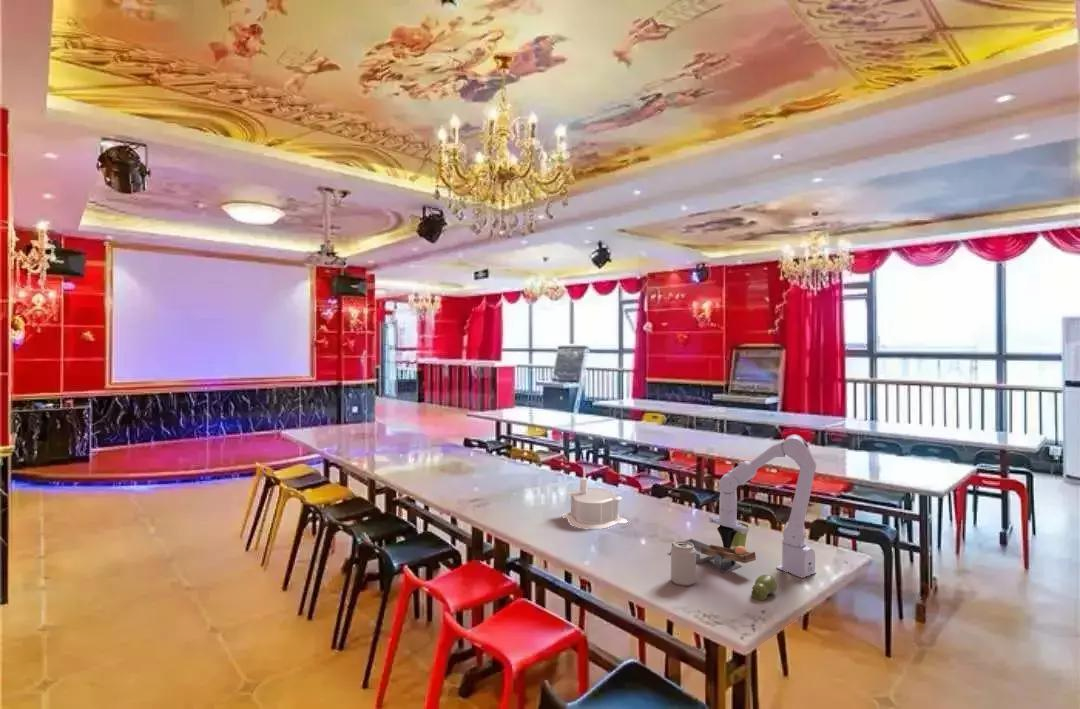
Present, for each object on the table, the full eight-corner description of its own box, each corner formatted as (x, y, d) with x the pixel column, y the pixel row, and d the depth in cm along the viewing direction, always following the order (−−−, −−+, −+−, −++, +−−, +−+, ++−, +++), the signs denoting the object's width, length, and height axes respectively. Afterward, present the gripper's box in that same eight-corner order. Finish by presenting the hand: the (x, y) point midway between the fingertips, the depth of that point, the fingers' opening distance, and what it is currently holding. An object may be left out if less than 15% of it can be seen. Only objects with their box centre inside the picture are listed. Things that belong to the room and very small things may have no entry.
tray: (718, 557, 194) (718, 548, 194) (698, 563, 189) (698, 554, 189) (691, 546, 204) (691, 538, 204) (671, 551, 199) (671, 543, 199)
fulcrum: (741, 566, 186) (741, 552, 186) (723, 572, 181) (723, 558, 181) (726, 560, 191) (726, 547, 191) (708, 566, 186) (708, 552, 186)
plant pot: (716, 545, 205) (716, 522, 205) (737, 542, 208) (737, 519, 208) (733, 554, 196) (733, 530, 196) (755, 551, 200) (755, 527, 200)
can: (691, 576, 177) (691, 539, 177) (698, 587, 170) (699, 548, 170) (668, 577, 177) (668, 539, 177) (674, 587, 170) (674, 548, 169)
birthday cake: (635, 513, 245) (636, 465, 244) (622, 534, 218) (623, 479, 218) (570, 507, 255) (570, 460, 255) (550, 525, 228) (550, 473, 228)
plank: (770, 555, 183) (769, 547, 183) (744, 563, 176) (743, 555, 176) (726, 546, 198) (725, 539, 198) (700, 554, 191) (699, 546, 191)
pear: (779, 575, 166) (764, 590, 159) (780, 591, 166) (765, 607, 160) (761, 569, 170) (745, 583, 163) (762, 585, 170) (747, 600, 164)
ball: (750, 556, 179) (747, 544, 180) (743, 558, 178) (740, 547, 178) (741, 555, 182) (738, 544, 183) (734, 558, 180) (731, 546, 181)
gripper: (753, 513, 189) (752, 552, 189) (718, 502, 201) (717, 539, 201) (740, 516, 185) (739, 556, 185) (705, 505, 197) (704, 543, 197)
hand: (727, 548), depth 193 cm, fingers closed, pressing on plank
